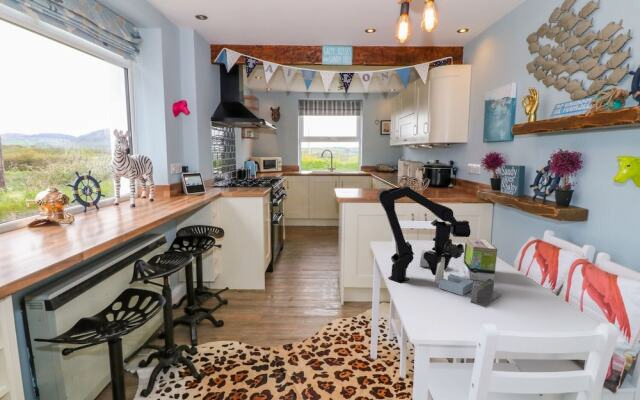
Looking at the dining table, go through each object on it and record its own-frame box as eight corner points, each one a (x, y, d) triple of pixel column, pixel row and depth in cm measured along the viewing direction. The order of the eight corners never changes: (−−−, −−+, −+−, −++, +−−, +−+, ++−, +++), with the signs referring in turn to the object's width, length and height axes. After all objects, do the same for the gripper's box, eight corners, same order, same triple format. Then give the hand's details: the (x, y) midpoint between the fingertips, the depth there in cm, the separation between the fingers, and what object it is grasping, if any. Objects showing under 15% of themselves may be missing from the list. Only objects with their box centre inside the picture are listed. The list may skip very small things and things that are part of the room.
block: (462, 295, 129) (462, 287, 129) (438, 287, 136) (439, 280, 135) (473, 288, 136) (474, 280, 135) (450, 281, 143) (450, 274, 142)
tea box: (494, 282, 144) (498, 248, 142) (469, 280, 146) (472, 246, 144) (485, 270, 158) (488, 239, 156) (462, 268, 160) (464, 237, 158)
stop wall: (485, 307, 120) (486, 293, 120) (470, 302, 124) (471, 289, 123) (501, 294, 131) (502, 282, 130) (487, 290, 135) (489, 278, 134)
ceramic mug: (437, 270, 156) (439, 254, 155) (419, 268, 159) (420, 252, 158) (439, 264, 166) (440, 248, 165) (421, 261, 169) (422, 246, 168)
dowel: (440, 282, 142) (442, 259, 140) (433, 280, 144) (434, 257, 143) (444, 280, 144) (446, 257, 143) (437, 278, 147) (438, 255, 145)
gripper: (450, 244, 129) (447, 283, 132) (471, 236, 142) (468, 272, 144) (423, 238, 137) (421, 275, 139) (445, 231, 150) (443, 265, 152)
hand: (439, 272), depth 144 cm, fingers open, 9 cm apart
